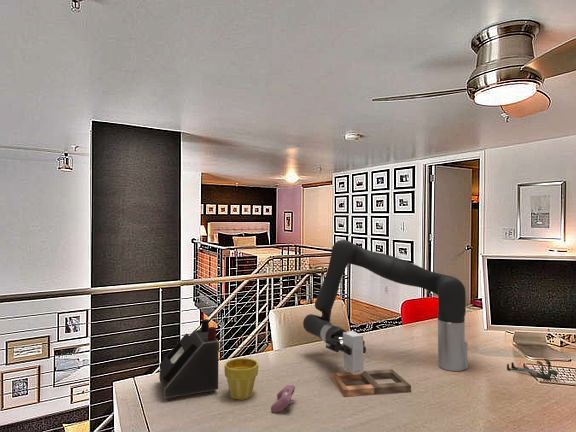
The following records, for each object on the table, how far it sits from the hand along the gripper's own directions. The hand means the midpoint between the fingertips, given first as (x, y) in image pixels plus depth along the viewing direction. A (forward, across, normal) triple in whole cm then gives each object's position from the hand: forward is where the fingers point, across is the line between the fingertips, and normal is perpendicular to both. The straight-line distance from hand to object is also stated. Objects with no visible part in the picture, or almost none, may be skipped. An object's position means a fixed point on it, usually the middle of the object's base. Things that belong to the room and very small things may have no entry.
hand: (357, 351), depth 126 cm
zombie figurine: (+10, +64, +12) cm, 66 cm away
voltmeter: (-18, -51, +13) cm, 56 cm away
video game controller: (+4, -26, +13) cm, 29 cm away
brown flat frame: (-1, +6, +12) cm, 13 cm away
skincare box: (-3, 0, +7) cm, 8 cm away
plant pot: (-8, -36, +13) cm, 39 cm away
